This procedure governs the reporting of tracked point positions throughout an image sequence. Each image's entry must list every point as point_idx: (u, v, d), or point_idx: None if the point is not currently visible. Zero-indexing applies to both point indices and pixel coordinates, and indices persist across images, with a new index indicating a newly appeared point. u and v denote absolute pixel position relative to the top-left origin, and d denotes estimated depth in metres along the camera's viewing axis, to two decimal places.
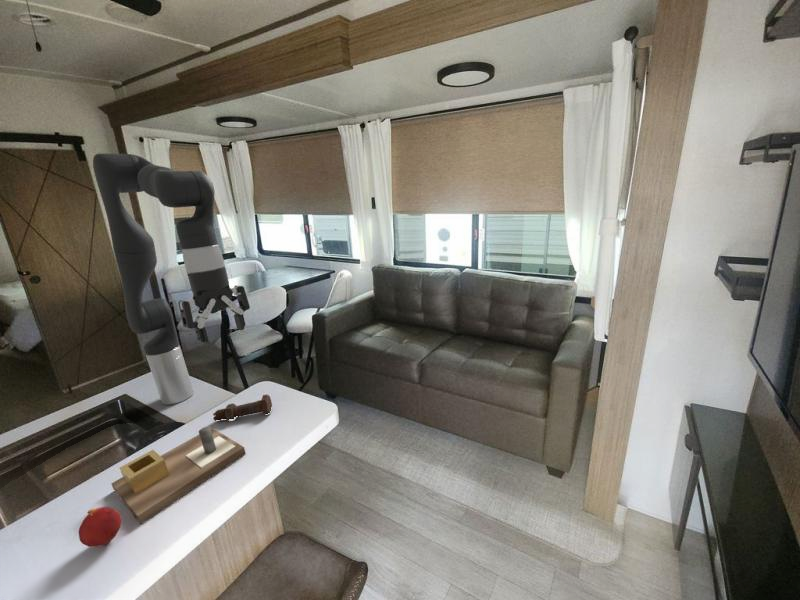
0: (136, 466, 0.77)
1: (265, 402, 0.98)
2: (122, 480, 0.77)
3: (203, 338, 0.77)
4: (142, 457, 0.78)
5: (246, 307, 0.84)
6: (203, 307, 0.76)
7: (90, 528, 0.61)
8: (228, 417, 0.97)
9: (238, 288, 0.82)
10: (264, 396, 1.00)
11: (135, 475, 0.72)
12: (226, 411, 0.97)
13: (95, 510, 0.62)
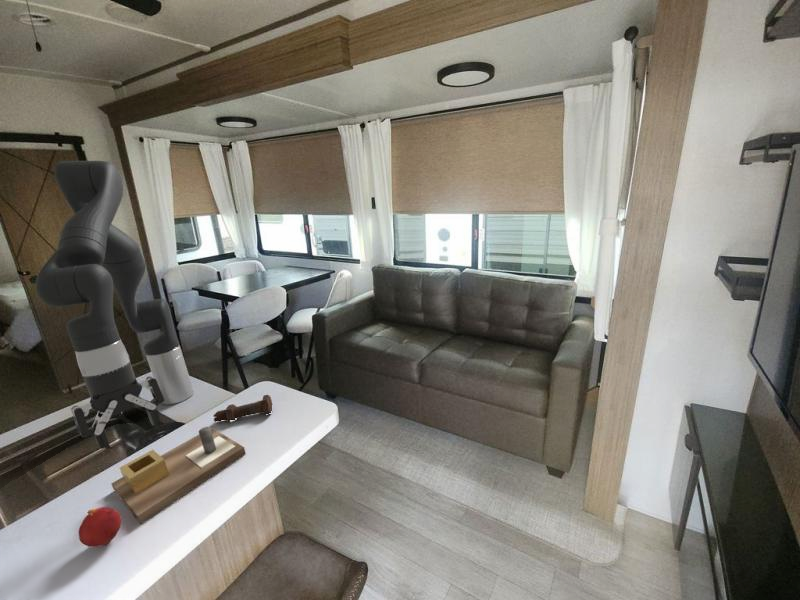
0: (136, 466, 0.77)
1: (266, 402, 0.98)
2: (122, 480, 0.77)
3: (103, 443, 0.69)
4: (142, 457, 0.78)
5: (159, 400, 0.76)
6: (102, 411, 0.69)
7: (90, 528, 0.61)
8: (229, 418, 0.97)
9: (149, 381, 0.75)
10: (265, 396, 1.00)
11: (135, 475, 0.72)
12: (227, 412, 0.97)
13: (95, 510, 0.62)
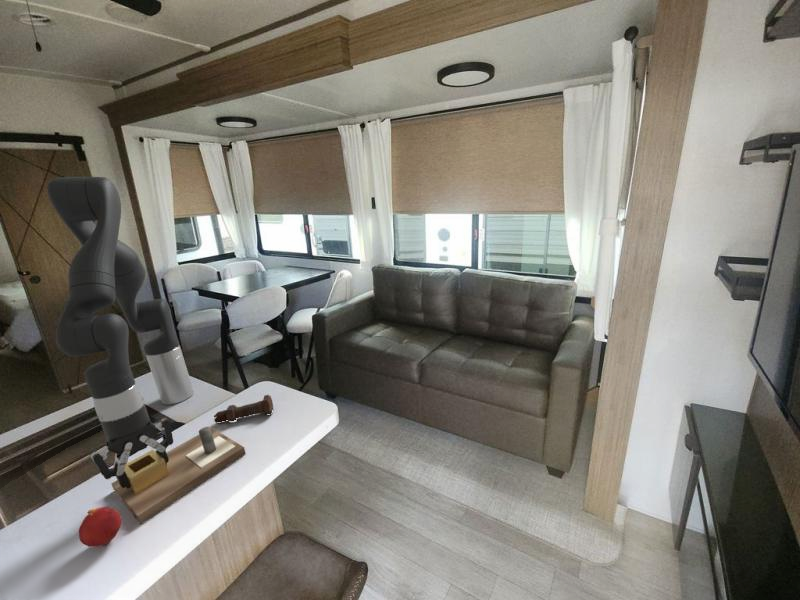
0: (136, 466, 0.77)
1: (267, 402, 0.98)
2: None
3: (124, 483, 0.73)
4: (142, 457, 0.78)
5: (169, 442, 0.79)
6: (119, 453, 0.72)
7: (90, 528, 0.61)
8: (230, 418, 0.96)
9: (163, 422, 0.78)
10: (265, 396, 1.00)
11: (135, 475, 0.72)
12: (227, 412, 0.97)
13: (95, 510, 0.62)
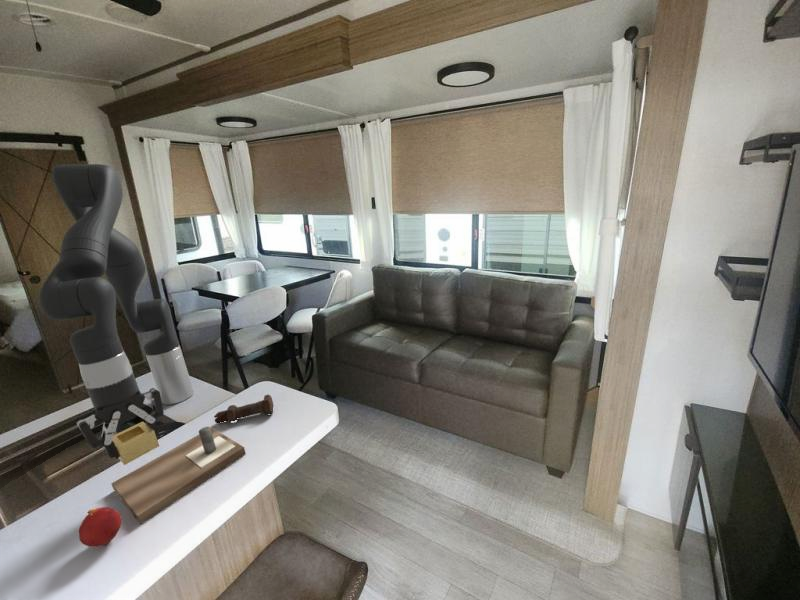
0: (125, 437, 0.75)
1: (268, 402, 0.98)
2: (122, 480, 0.77)
3: (112, 453, 0.71)
4: (131, 428, 0.76)
5: (159, 414, 0.77)
6: (107, 422, 0.70)
7: (90, 528, 0.61)
8: (230, 418, 0.96)
9: (152, 393, 0.76)
10: (266, 396, 1.00)
11: (124, 445, 0.70)
12: (228, 412, 0.96)
13: (95, 510, 0.62)
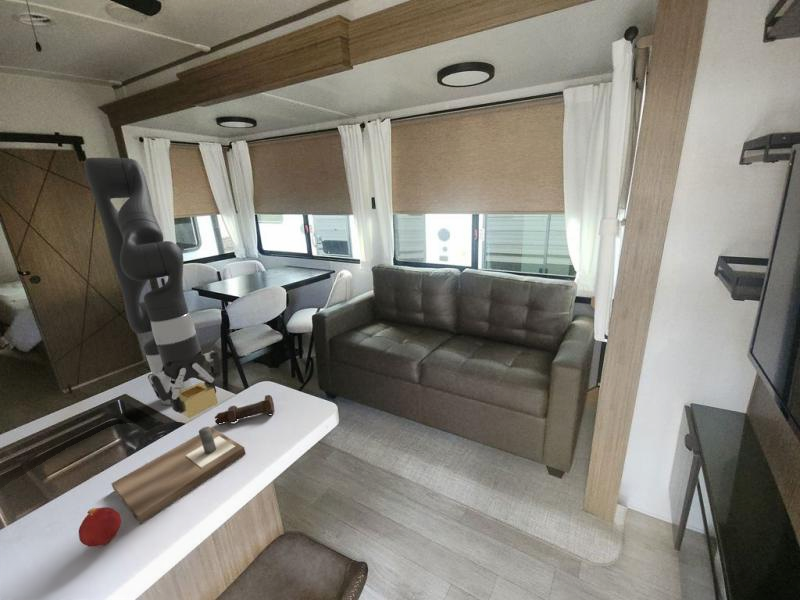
0: (187, 395, 0.80)
1: (268, 402, 0.98)
2: (122, 480, 0.77)
3: (178, 407, 0.76)
4: (191, 387, 0.81)
5: (217, 374, 0.82)
6: (174, 378, 0.75)
7: (90, 528, 0.61)
8: (231, 419, 0.96)
9: (211, 354, 0.81)
10: (267, 396, 1.00)
11: (189, 399, 0.76)
12: (228, 413, 0.96)
13: (95, 510, 0.62)
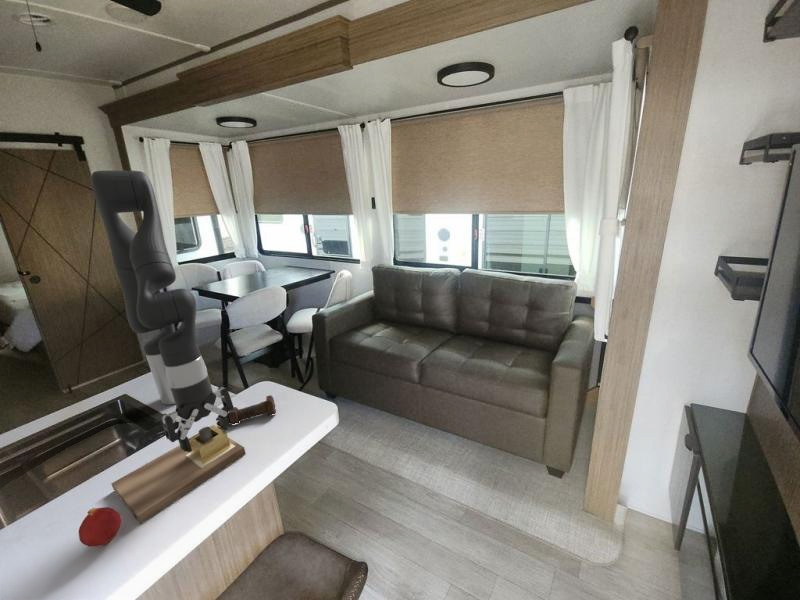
0: (200, 439, 0.83)
1: (271, 402, 0.98)
2: (122, 480, 0.77)
3: (186, 447, 0.78)
4: None
5: (230, 408, 0.85)
6: (186, 418, 0.78)
7: (90, 528, 0.61)
8: (233, 421, 0.95)
9: (222, 391, 0.84)
10: (268, 397, 1.00)
11: (203, 446, 0.79)
12: (230, 415, 0.95)
13: (95, 510, 0.62)
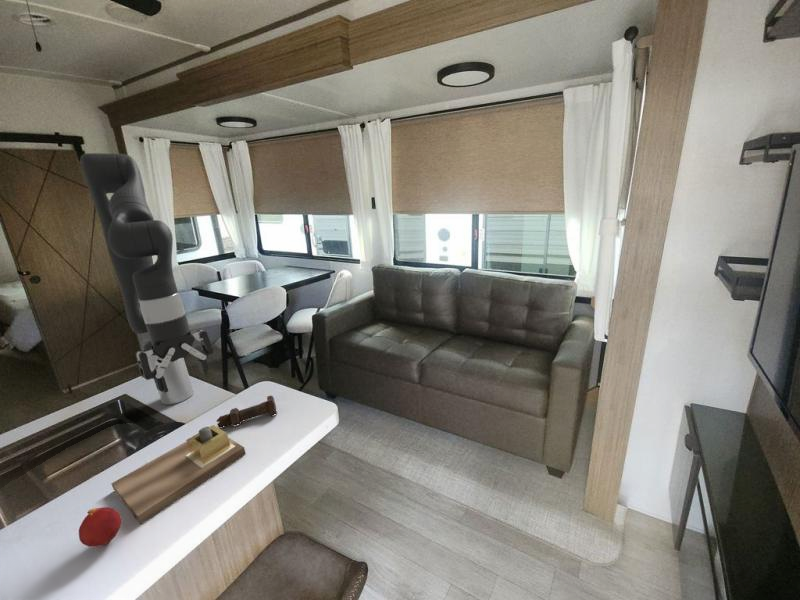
0: (200, 439, 0.83)
1: (272, 402, 0.98)
2: (122, 480, 0.77)
3: (162, 387, 0.76)
4: None
5: (209, 352, 0.83)
6: (162, 356, 0.75)
7: (90, 528, 0.61)
8: (234, 422, 0.95)
9: (200, 333, 0.81)
10: (269, 397, 1.00)
11: (203, 446, 0.79)
12: (231, 416, 0.95)
13: (95, 510, 0.62)
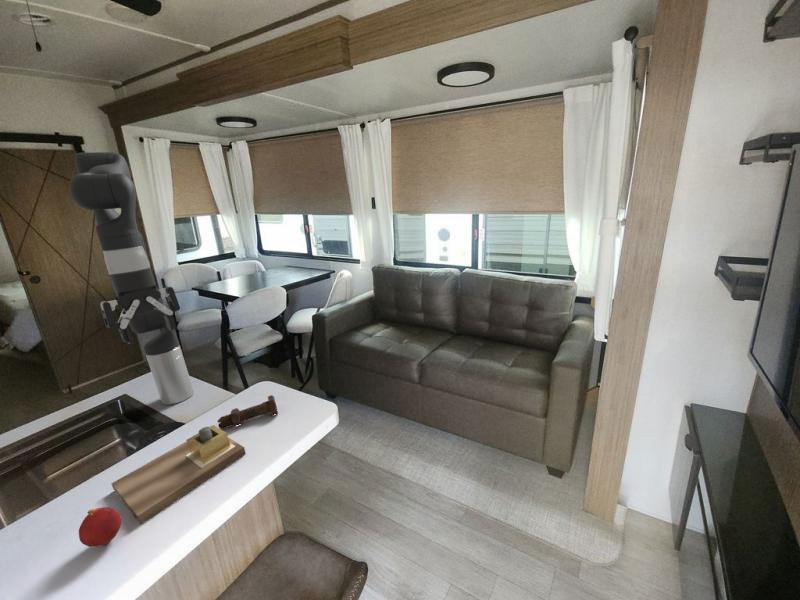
0: (200, 439, 0.83)
1: (273, 402, 0.98)
2: (122, 480, 0.77)
3: (127, 338, 0.78)
4: None
5: (176, 308, 0.85)
6: (126, 308, 0.77)
7: (90, 528, 0.61)
8: (235, 422, 0.94)
9: (167, 289, 0.83)
10: (270, 397, 1.00)
11: (203, 446, 0.79)
12: (232, 416, 0.95)
13: (95, 510, 0.62)
